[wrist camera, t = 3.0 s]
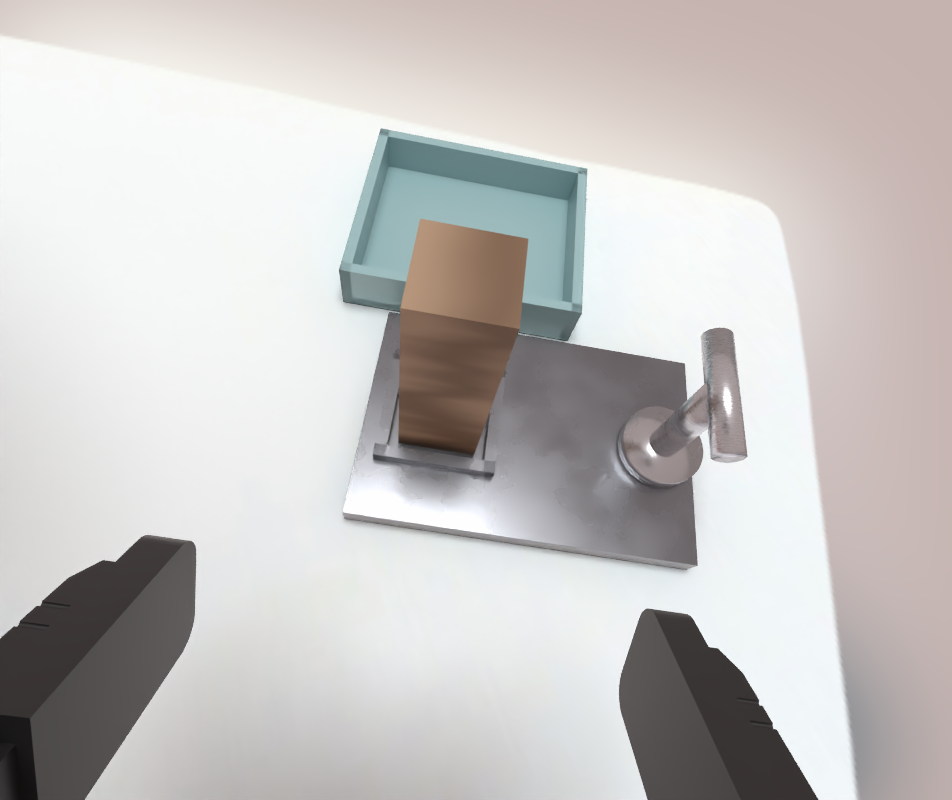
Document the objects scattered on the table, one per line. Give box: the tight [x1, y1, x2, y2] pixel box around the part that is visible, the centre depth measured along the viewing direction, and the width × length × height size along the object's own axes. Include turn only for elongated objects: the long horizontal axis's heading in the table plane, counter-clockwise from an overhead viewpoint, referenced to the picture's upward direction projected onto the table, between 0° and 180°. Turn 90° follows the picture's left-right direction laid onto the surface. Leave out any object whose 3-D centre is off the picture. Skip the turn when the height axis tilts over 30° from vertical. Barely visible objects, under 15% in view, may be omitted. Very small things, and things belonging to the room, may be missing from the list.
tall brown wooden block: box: [398, 219, 528, 455], centre depth 24 cm, size 4×4×12 cm
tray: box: [339, 129, 587, 341], centre depth 35 cm, size 14×12×3 cm
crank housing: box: [343, 312, 747, 569], centre depth 27 cm, size 18×12×9 cm, turn 83°
